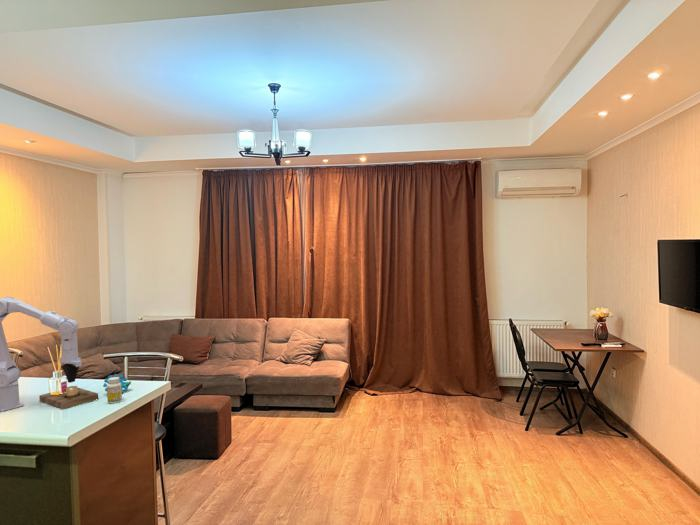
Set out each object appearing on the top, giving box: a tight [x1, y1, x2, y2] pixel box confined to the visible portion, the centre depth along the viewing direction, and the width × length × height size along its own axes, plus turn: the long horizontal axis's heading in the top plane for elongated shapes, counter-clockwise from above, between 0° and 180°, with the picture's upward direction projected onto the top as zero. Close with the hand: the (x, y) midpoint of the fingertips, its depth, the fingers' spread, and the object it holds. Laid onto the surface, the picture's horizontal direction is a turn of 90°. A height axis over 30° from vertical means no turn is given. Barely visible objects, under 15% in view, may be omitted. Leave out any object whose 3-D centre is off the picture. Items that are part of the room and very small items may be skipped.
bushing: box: [65, 385, 79, 398], centre depth 197 cm, size 4×4×6 cm
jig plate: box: [38, 386, 99, 410], centre depth 199 cm, size 20×14×2 cm
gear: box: [102, 373, 132, 394], centre depth 208 cm, size 11×6×10 cm
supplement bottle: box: [106, 376, 123, 404], centre depth 195 cm, size 5×5×10 cm
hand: (71, 381), depth 197 cm, fingers closed
